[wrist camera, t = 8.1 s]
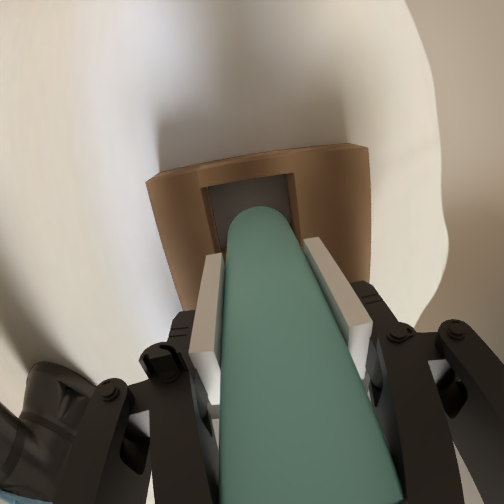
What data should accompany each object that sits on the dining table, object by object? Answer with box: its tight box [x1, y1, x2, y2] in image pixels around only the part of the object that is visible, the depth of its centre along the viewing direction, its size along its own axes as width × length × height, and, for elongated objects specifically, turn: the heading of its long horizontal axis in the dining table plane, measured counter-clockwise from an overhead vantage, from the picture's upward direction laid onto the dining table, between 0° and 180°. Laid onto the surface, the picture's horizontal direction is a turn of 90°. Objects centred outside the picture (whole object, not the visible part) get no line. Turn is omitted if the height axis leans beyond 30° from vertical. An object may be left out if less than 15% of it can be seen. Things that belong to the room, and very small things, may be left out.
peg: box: [218, 206, 405, 504], centre depth 11 cm, size 4×4×16 cm
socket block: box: [146, 143, 371, 451], centre depth 19 cm, size 16×17×15 cm
